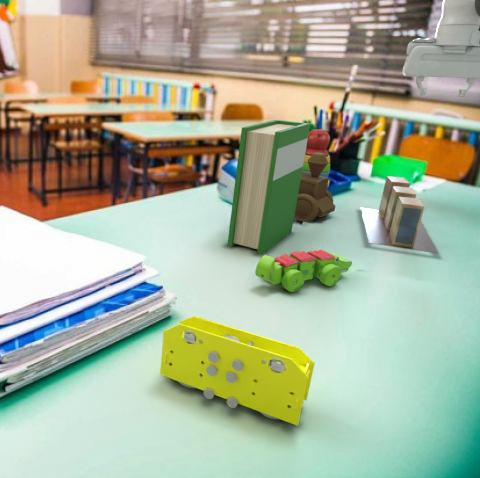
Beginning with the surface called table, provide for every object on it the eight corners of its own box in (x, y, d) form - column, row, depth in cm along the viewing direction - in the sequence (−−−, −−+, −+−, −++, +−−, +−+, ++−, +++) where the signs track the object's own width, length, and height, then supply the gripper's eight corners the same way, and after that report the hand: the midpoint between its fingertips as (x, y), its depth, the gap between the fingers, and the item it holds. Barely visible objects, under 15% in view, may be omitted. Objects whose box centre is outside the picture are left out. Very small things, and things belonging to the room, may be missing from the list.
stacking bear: (294, 183, 153) (304, 125, 146) (328, 188, 148) (340, 129, 142) (285, 190, 144) (295, 129, 138) (321, 196, 139) (334, 133, 133)
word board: (415, 217, 124) (416, 214, 124) (438, 256, 100) (439, 252, 100) (359, 210, 129) (360, 206, 128) (367, 246, 104) (368, 242, 104)
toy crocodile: (330, 267, 93) (337, 237, 90) (358, 282, 87) (365, 250, 85) (242, 280, 86) (247, 248, 84) (265, 298, 80) (271, 264, 78)
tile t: (409, 238, 107) (419, 198, 104) (413, 248, 102) (424, 206, 98) (388, 235, 108) (398, 196, 105) (391, 244, 103) (402, 203, 100)
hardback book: (261, 254, 97) (280, 132, 89) (227, 245, 101) (241, 127, 93) (291, 232, 111) (310, 123, 102) (260, 224, 115) (275, 119, 106)
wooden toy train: (240, 208, 126) (248, 143, 120) (261, 200, 134) (270, 138, 128) (316, 228, 114) (330, 156, 108) (335, 217, 121) (349, 150, 115)
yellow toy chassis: (158, 382, 59) (162, 321, 56) (177, 358, 63) (182, 301, 60) (295, 434, 51) (309, 368, 48) (305, 403, 56) (319, 341, 53)
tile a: (402, 224, 116) (412, 187, 113) (406, 233, 110) (416, 194, 107) (384, 222, 117) (392, 185, 114) (386, 230, 112) (396, 192, 108)
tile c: (395, 212, 125) (404, 177, 122) (401, 219, 119) (410, 183, 116) (378, 210, 126) (386, 176, 123) (383, 217, 120) (392, 181, 117)
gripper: (412, 37, 123) (400, 95, 127) (507, 38, 117) (490, 98, 122) (406, 38, 128) (394, 93, 133) (496, 39, 123) (480, 97, 128)
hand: (441, 96), depth 128 cm, fingers open, 8 cm apart
